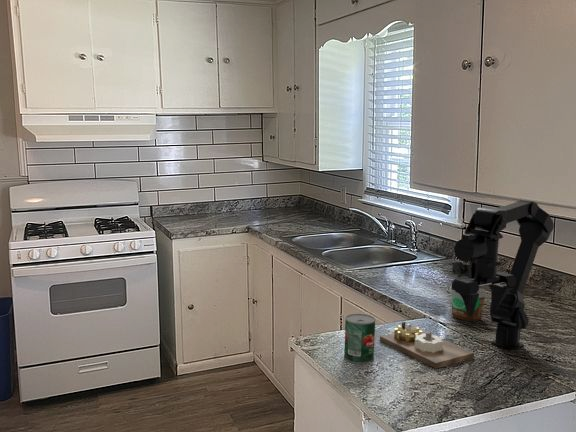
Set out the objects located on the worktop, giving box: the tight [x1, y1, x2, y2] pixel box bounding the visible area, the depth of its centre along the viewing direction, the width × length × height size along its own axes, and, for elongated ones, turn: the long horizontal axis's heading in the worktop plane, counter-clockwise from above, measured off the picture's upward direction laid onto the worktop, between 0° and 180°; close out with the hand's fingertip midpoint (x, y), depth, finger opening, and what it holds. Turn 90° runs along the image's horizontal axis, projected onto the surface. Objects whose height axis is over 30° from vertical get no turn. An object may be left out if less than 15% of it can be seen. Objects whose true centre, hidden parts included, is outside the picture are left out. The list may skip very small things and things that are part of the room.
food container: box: [449, 283, 488, 322], centre depth 191 cm, size 12×6×10 cm, turn 47°
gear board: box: [379, 328, 475, 370], centre depth 164 cm, size 14×22×6 cm, turn 31°
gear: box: [393, 321, 423, 342], centre depth 168 cm, size 8×8×4 cm
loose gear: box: [414, 334, 444, 353], centre depth 162 cm, size 7×7×2 cm
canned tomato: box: [343, 313, 376, 365], centre depth 157 cm, size 8×8×11 cm
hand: (481, 313), depth 158 cm, fingers open, 9 cm apart
